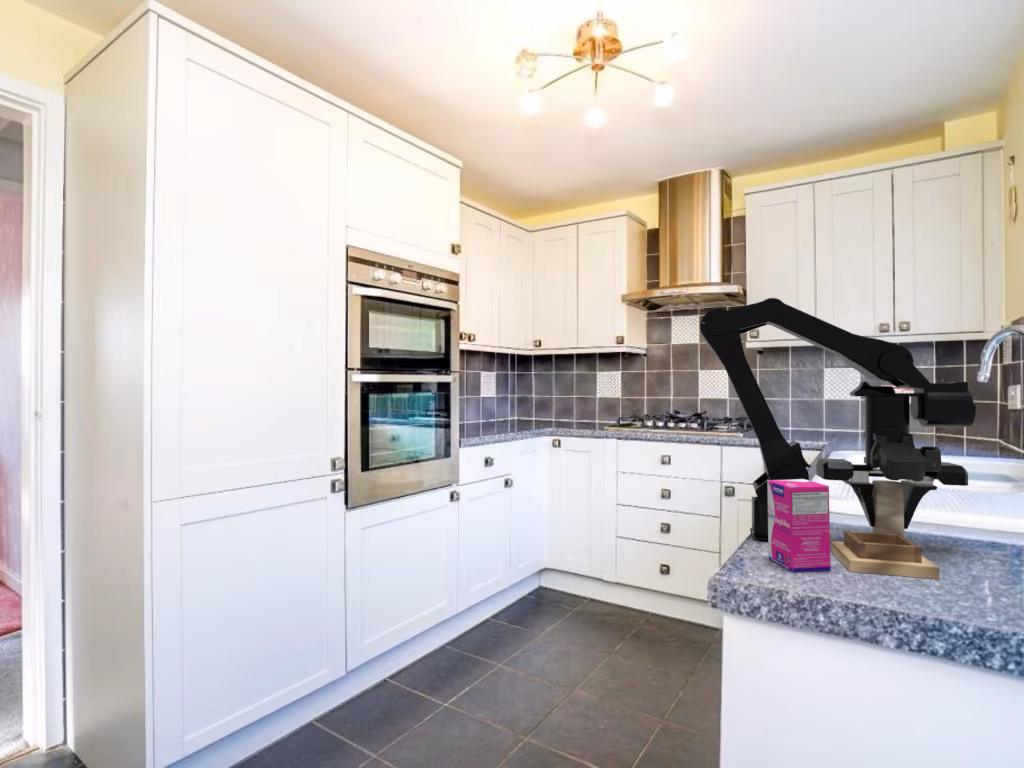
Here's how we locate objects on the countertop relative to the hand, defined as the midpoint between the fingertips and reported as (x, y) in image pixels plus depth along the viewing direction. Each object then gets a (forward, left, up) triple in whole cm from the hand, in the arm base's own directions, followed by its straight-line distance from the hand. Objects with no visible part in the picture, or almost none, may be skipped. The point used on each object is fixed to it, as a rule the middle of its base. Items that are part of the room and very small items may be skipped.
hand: (888, 527), depth 85 cm
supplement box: (-15, -14, -3) cm, 21 cm away
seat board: (-4, -10, -3) cm, 11 cm away
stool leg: (0, 0, -3) cm, 3 cm away
